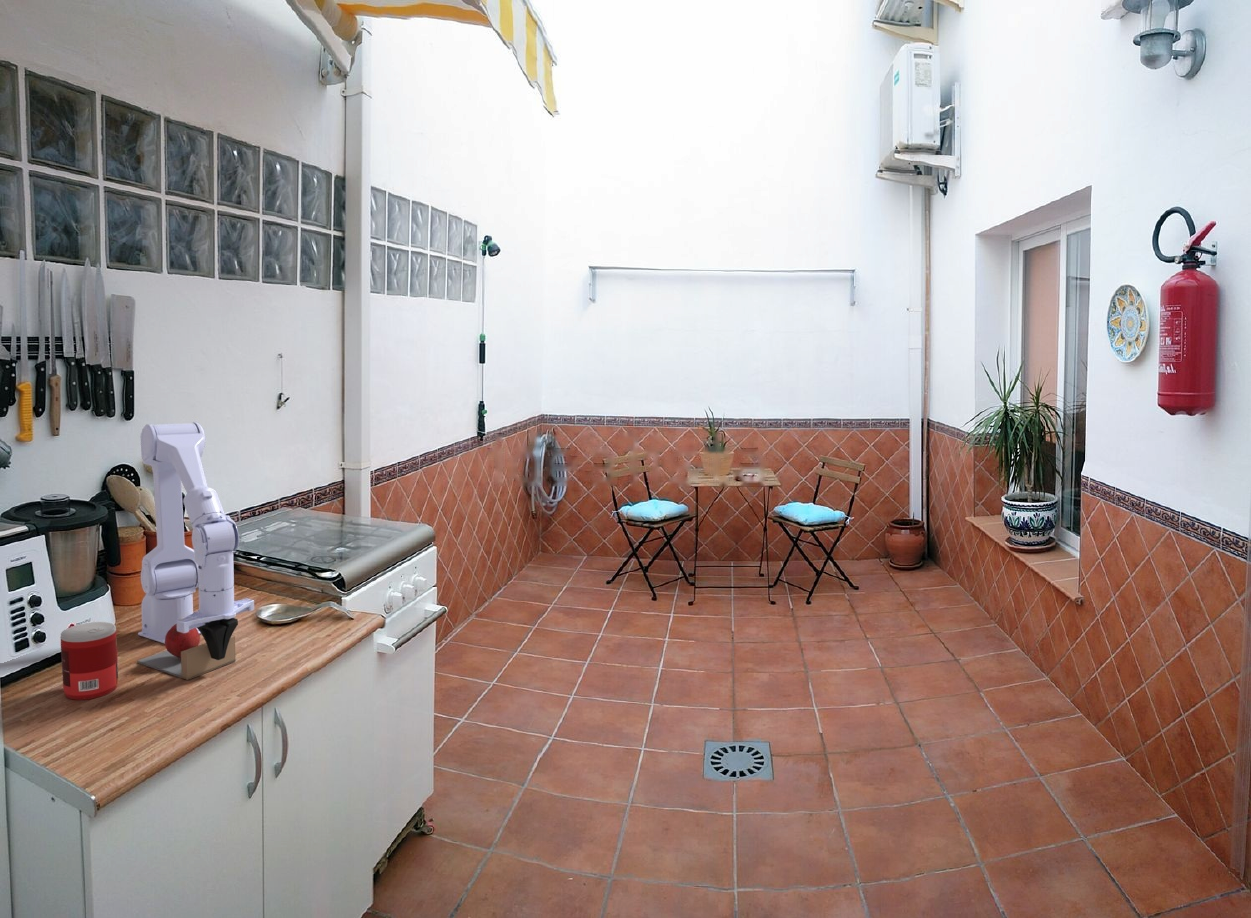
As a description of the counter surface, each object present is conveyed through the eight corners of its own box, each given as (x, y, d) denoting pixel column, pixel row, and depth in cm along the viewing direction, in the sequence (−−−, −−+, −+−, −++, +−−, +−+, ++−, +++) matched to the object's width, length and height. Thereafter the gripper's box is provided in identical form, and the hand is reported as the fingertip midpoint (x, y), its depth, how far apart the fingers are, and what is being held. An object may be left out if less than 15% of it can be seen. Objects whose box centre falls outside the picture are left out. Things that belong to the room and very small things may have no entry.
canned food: (129, 685, 142) (126, 626, 140) (85, 704, 135) (82, 641, 133) (97, 677, 144) (94, 618, 143) (52, 695, 137) (49, 633, 135)
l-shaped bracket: (137, 662, 151) (136, 637, 150) (186, 645, 160) (185, 621, 159) (187, 680, 145) (186, 653, 144) (235, 661, 154) (235, 636, 153)
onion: (184, 666, 150) (183, 625, 148) (158, 662, 151) (156, 621, 150) (207, 654, 155) (206, 615, 154) (180, 650, 156) (179, 611, 155)
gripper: (194, 602, 138) (196, 676, 140) (265, 580, 151) (266, 649, 153) (167, 594, 141) (170, 667, 143) (239, 574, 154) (240, 641, 156)
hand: (217, 657), depth 149 cm, fingers closed, pressing on l-shaped bracket
